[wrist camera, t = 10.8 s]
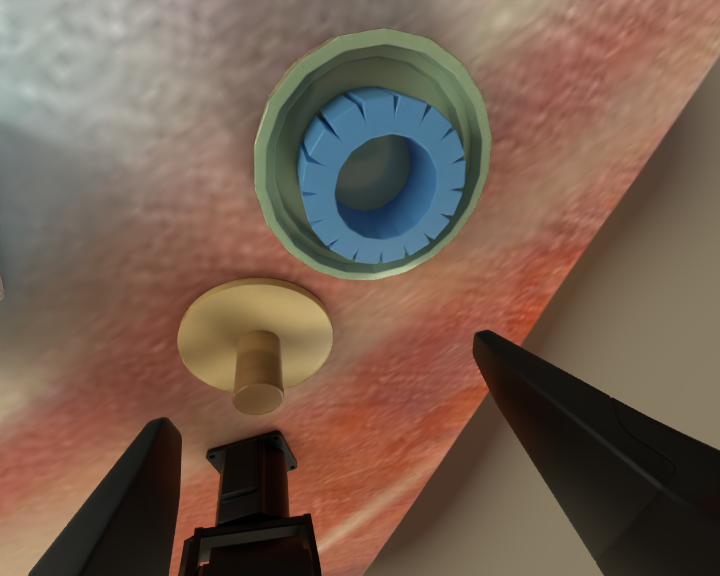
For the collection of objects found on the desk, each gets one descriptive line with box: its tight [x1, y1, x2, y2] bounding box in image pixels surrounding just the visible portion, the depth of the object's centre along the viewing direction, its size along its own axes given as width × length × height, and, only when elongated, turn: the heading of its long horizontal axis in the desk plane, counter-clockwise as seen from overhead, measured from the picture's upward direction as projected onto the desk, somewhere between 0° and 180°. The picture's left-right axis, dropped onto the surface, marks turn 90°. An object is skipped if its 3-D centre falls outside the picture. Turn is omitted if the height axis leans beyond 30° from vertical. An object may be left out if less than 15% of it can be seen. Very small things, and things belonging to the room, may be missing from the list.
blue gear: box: [296, 86, 466, 264], centre depth 16 cm, size 7×7×4 cm
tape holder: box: [177, 278, 333, 415], centre depth 21 cm, size 10×10×5 cm
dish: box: [254, 28, 491, 280], centre depth 17 cm, size 11×11×3 cm
